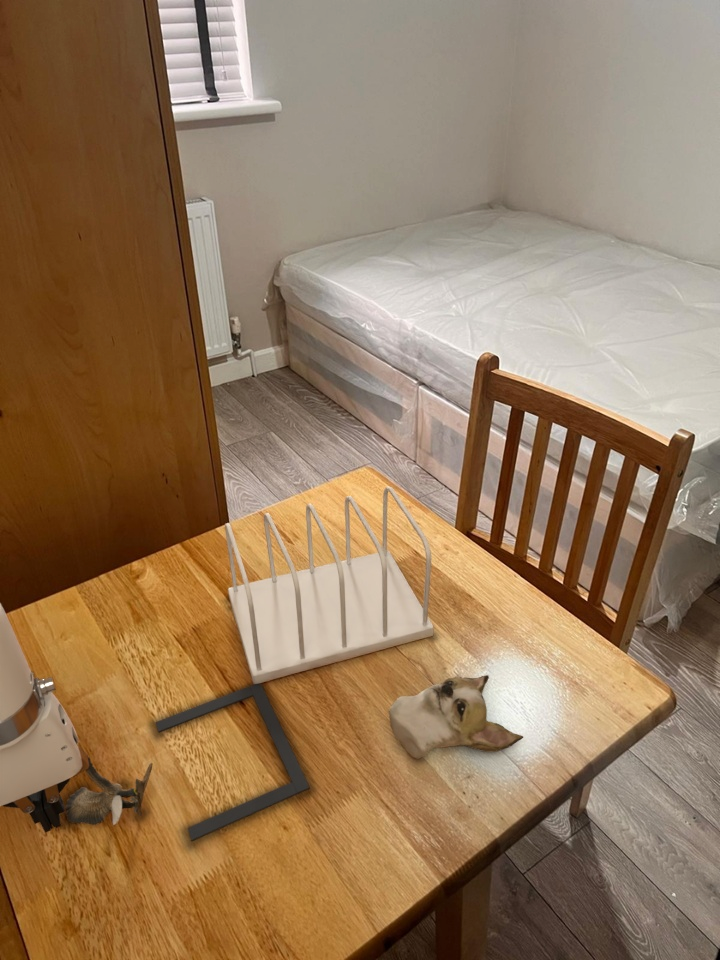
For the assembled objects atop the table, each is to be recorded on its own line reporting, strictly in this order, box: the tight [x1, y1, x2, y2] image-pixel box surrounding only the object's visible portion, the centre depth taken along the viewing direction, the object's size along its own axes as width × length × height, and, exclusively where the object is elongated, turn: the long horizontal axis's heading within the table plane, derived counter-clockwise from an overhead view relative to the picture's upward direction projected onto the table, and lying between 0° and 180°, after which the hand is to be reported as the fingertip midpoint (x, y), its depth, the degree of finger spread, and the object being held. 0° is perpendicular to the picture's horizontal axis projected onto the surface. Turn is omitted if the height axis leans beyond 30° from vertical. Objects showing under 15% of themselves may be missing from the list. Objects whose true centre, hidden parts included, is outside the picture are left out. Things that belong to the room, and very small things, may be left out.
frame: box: [155, 683, 310, 842], centre depth 85 cm, size 14×16×1 cm
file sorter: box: [224, 486, 434, 685], centre depth 99 cm, size 25×17×16 cm
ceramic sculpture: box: [388, 674, 524, 760], centre depth 85 cm, size 11×9×15 cm
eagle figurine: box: [65, 747, 153, 826], centre depth 79 cm, size 8×7×9 cm
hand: (51, 817), depth 78 cm, fingers closed
